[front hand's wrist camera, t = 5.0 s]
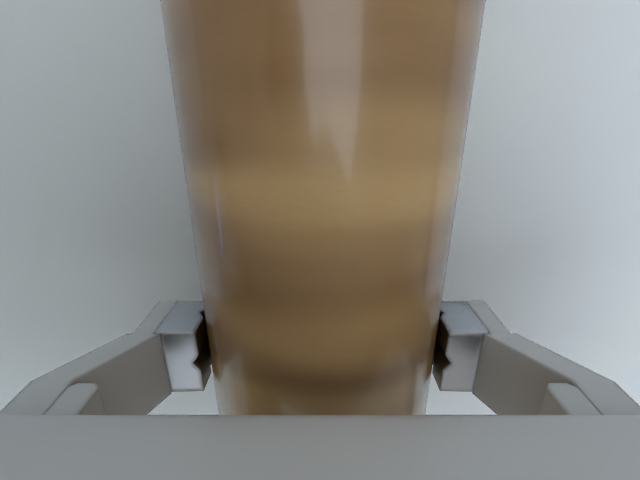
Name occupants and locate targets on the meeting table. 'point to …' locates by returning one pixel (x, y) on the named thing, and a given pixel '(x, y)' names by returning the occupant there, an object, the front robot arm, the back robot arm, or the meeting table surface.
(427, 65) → the rod
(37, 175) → the meeting table surface
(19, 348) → the meeting table surface
